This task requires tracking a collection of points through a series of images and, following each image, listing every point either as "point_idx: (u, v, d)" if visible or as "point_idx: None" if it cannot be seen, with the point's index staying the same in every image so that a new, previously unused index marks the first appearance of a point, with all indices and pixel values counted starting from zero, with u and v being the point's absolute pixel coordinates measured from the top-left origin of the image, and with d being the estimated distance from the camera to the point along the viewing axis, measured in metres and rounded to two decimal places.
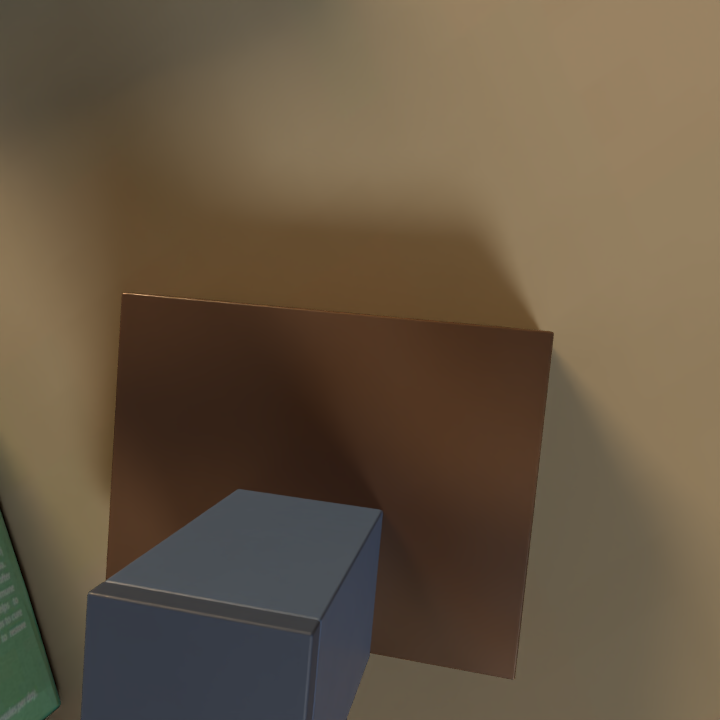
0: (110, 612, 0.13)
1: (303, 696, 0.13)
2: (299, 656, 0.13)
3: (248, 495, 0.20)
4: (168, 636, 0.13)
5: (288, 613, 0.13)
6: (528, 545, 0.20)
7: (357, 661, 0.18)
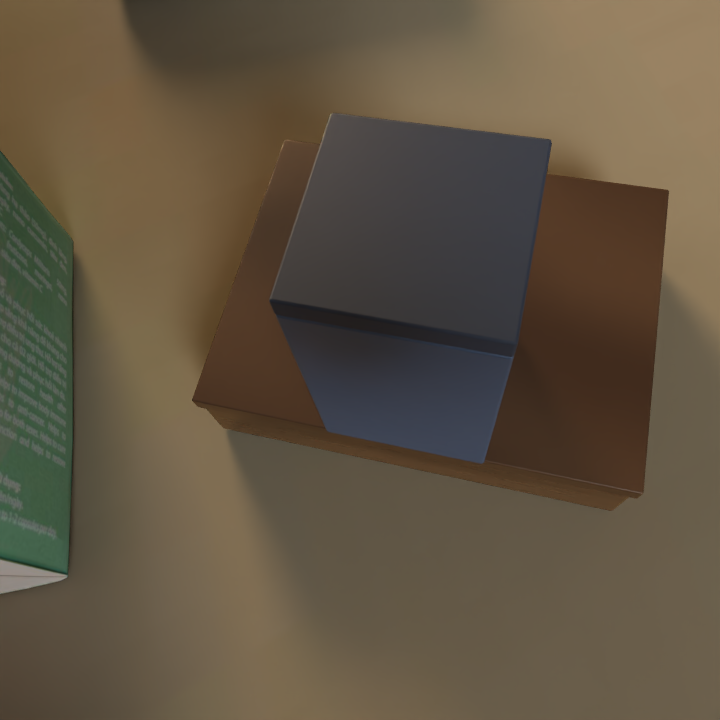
0: (350, 126, 0.14)
1: (539, 187, 0.13)
2: (537, 155, 0.13)
3: None
4: (407, 142, 0.14)
5: None
6: (653, 358, 0.20)
7: None
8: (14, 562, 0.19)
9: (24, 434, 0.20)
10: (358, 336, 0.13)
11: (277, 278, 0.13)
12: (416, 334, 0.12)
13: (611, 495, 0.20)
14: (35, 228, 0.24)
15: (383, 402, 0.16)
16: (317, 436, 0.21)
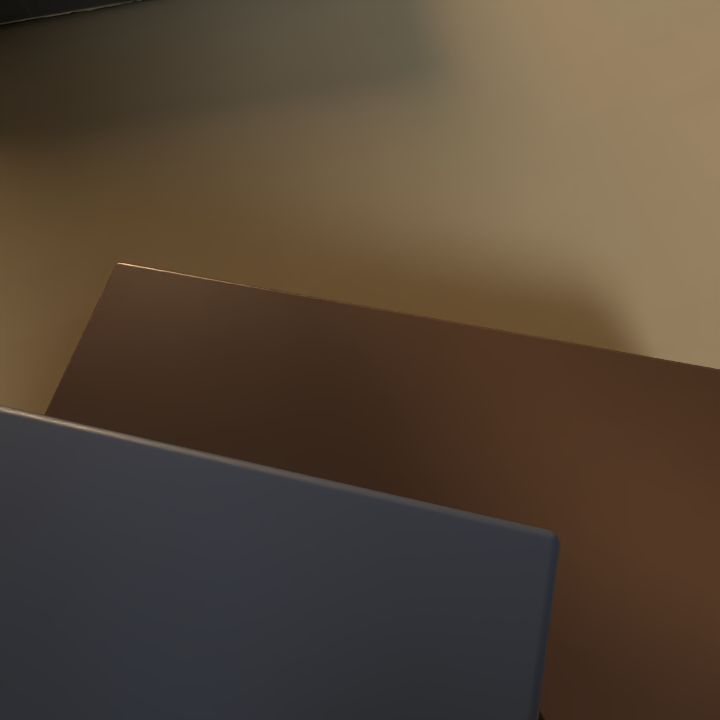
0: None
1: None
2: (512, 605, 0.04)
3: None
4: (89, 516, 0.04)
5: None
6: None
7: None
8: None
9: None
10: None
11: None
12: None
13: None
14: None
15: None
16: None
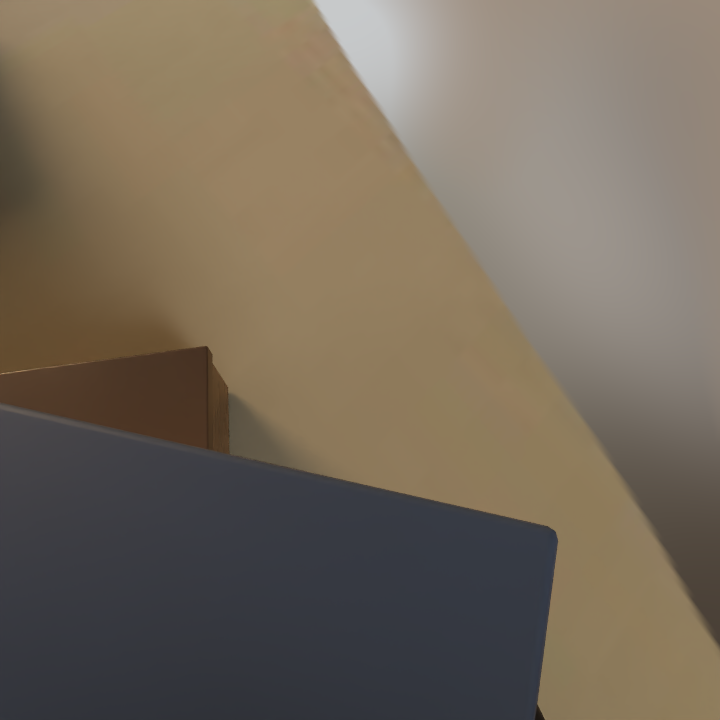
0: None
1: None
2: (509, 600, 0.04)
3: None
4: (86, 514, 0.04)
5: None
6: None
7: None
8: None
9: None
10: None
11: None
12: None
13: None
14: None
15: None
16: None
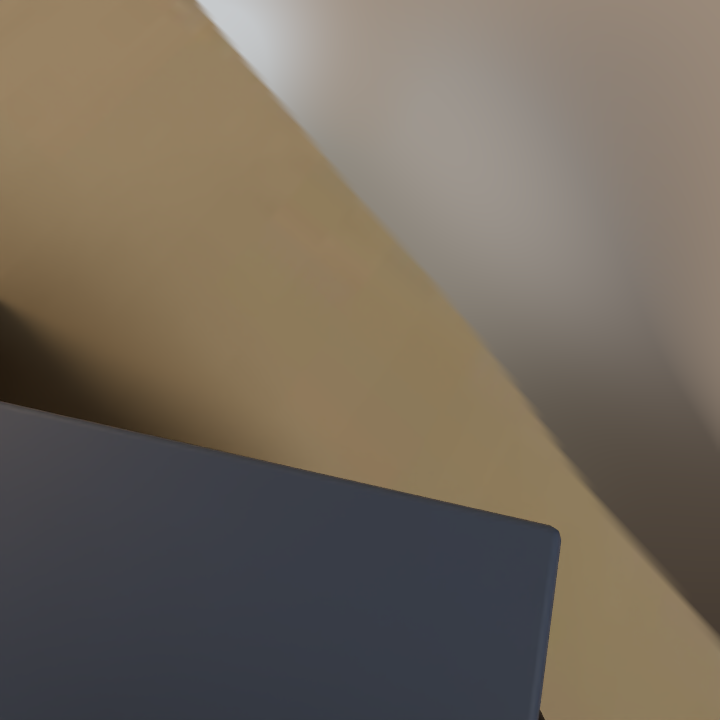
0: None
1: None
2: (513, 600, 0.04)
3: None
4: (89, 511, 0.04)
5: None
6: None
7: None
8: None
9: None
10: None
11: None
12: None
13: None
14: None
15: None
16: None
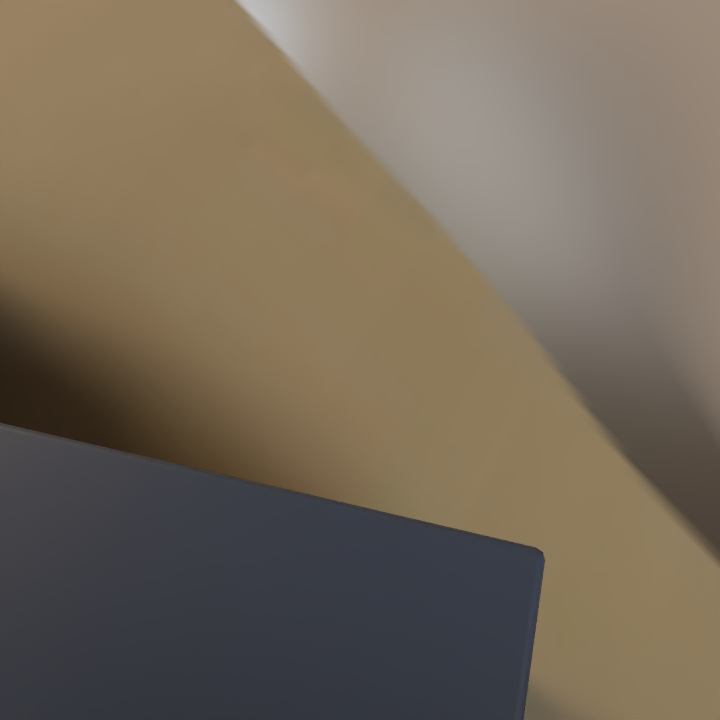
0: (1, 464, 0.05)
1: None
2: (503, 612, 0.04)
3: None
4: (136, 536, 0.05)
5: None
6: None
7: None
8: None
9: None
10: None
11: None
12: None
13: None
14: None
15: None
16: None
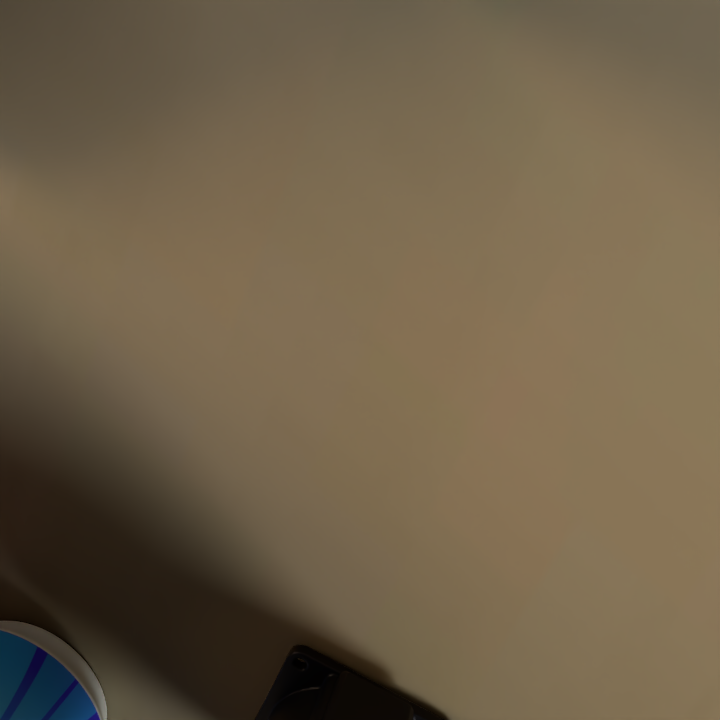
0: None
1: None
2: None
3: None
4: None
5: None
6: None
7: None
8: None
9: None
10: None
11: None
12: None
13: None
14: None
15: None
16: None
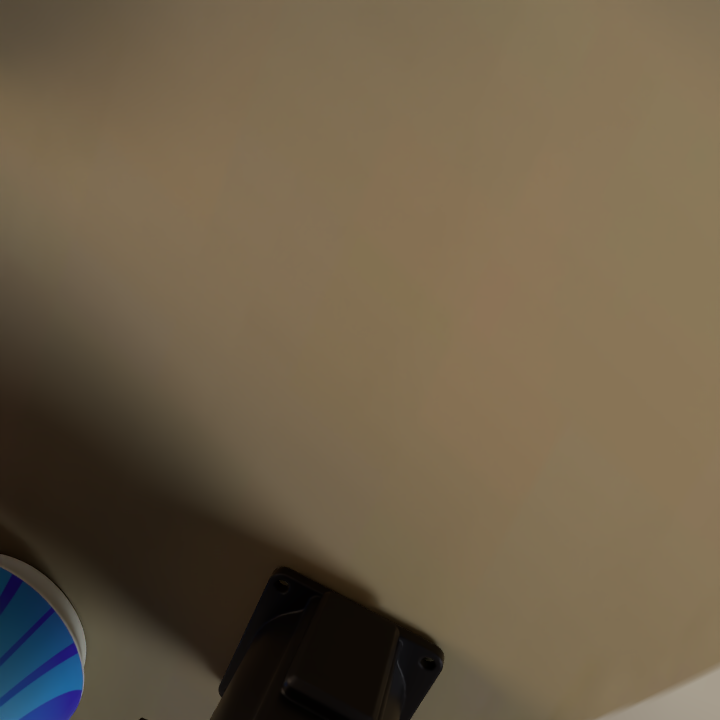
0: None
1: None
2: None
3: None
4: None
5: None
6: None
7: None
8: None
9: None
10: None
11: None
12: None
13: None
14: None
15: None
16: None
